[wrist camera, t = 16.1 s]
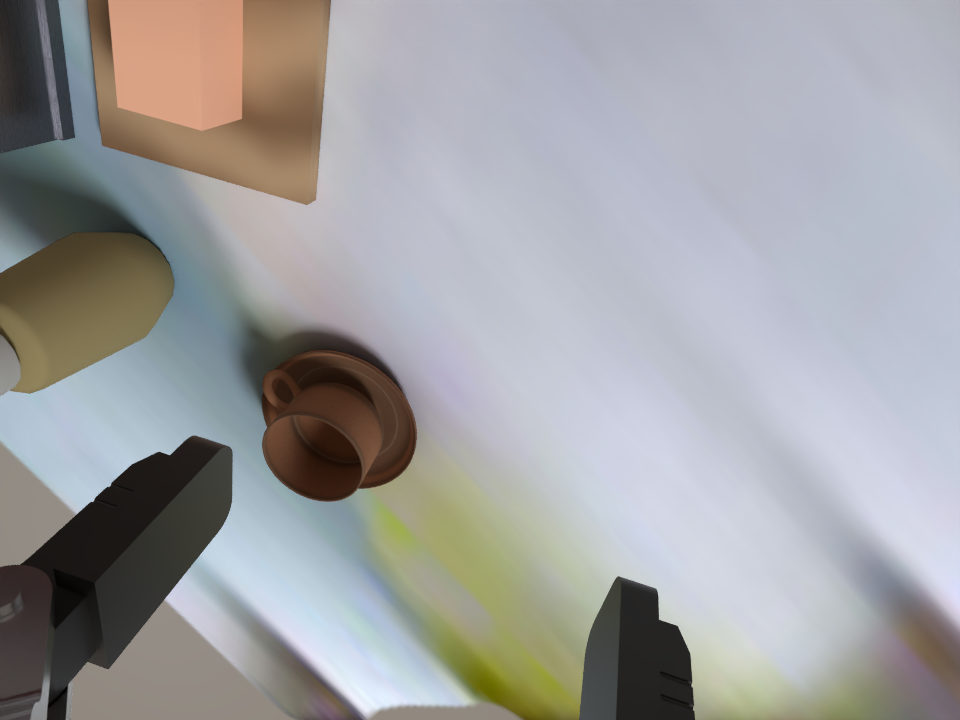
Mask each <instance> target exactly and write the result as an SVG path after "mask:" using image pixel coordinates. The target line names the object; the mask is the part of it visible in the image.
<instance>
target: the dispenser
mask: <svg viewBox="0 0 960 720" xmlns="http://www.w3.org/2000/svg"><path fill="white" fill-rule="evenodd" d="M71 138H75V135H74V127H73V118H72V110H71V102H70V94H69V86H68V78H67V69H66V61H65V53H64V45H63V37H62V29H61V21H60V12H59V4H58V0H0V153H4V152H8V151H12V150H16V149H20V148H24V147H29V146H33V145H37V144H41V143H45V142H49V141H54V140H58V139H60V140H67V139H71Z"/></svg>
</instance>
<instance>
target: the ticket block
mask: <svg viewBox="0 0 960 720" xmlns="http://www.w3.org/2000/svg"><path fill="white" fill-rule="evenodd" d="M108 5H109V16H110V28H111V39H112V50H113V61H114V72H115V84H116V95H117V106H118V108H122V109H126V110H129V111H133V112H136V113H140V114H143V115H147V116H151V117H154V118H158V119H161V120H165V121H168V122H172V123H176V124H179V125H183V126H186V127H190V128H193V129H197V130H201V131H203V130H207V129H210V128H213V127H217V126H220V125H223V124H227V123H230V122H233V121H237V120H240V119H242V58H243V0H108Z"/></svg>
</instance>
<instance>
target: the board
mask: <svg viewBox="0 0 960 720" xmlns="http://www.w3.org/2000/svg"><path fill="white" fill-rule="evenodd" d="M87 1H88V11H89V21H90V31H91V41H92V51H93V61H94V71H95V80H96V90H97V100H98V110H99V120H100V130H101V140H102V146H106V147H109V148H113V149H116V150H119V151H123V152H126V153H130V154H133V155H137V156H140V157H144V158H147V159H150V160H154V161H157V162H161V163H164V164H168V165H171V166H175V167H178V168H181V169H185V170H188V171H192V172H195V173H199V174H202V175H206V176H209V177H212V178H216V179H219V180H223V181H226V182H230V183H233V184H237V185H240V186H243V187H247V188H250V189H254V190H257V191H261V192H264V193H268V194H271V195H274V196H278V197H281V198H285V199H288V200H292V201H295V202H299V203H302V204H305V205H308V204H310V203H311V202H313V201H315V200H316V189H317V176H318V163H319V150H320V137H321V123H322V110H323V97H324V84H325V71H326V57H327V44H328V31H329V18H330V5H331V0H243V58H242V119H240V120H237V121H233V122H230V123H227V124H223V125H220V126H217V127H213V128H210V129H207V130H203V131H201V130H197V129H193V128H190V127H186V126H183V125H179V124H176V123H172V122H168V121H165V120H161V119H158V118H154V117H151V116H147V115H143V114H140V113H136V112H133V111H129V110H126V109H122V108H118V106H117V95H116V84H115V72H114V61H113V50H112V39H111V28H110V16H109V5H108V0H87Z"/></svg>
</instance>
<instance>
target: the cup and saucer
mask: <svg viewBox="0 0 960 720" xmlns="http://www.w3.org/2000/svg"><path fill="white" fill-rule="evenodd" d="M262 409H263V415H264V419H265V423H266V425H267V429H266V431H265V433H264V436H263V442H262V448H263V454H264V457H265V460H266V462H267V464H268V466H269V468H270V470H271V471H272V472H273V474H274V475H275V476H276V477H277V478H278V479H279V480H280V481H281V482H282V483H283V484H284V485H285V486H286V487H288V488H289V489H291V490H292V491H294V492H296V493H297V494H299V495H301V496H304V497H306V498H309V499H313V500H317V501H326V502H330V501H338V500H342V499H345V498H347V497H349V496H350V495H352V494H353V493H354V492H355V491H356V490H357V489H363V488H372V487H377V486H381V485H383V484H386V483H388V482H390V481H392V480H394V479H395V478H397V477H398V476H399V475H400V474H402V473H403V471H404V470H405V469H406V468H407V467H408V465H409V464H410V462H411V460H412V457H413V455H414V452H415V447H416V440H417V429H416V422H415V418H414V415H413V412H412V409H411V407H410V405H409V403H408V401H407V400H406V398H405V396H404V395H403V393H402V392H401V390H400V389H399V388H398V387H397V386H396V384H395V383H394V382H393V381H392V380H391V379H390V378H389V377H387V376H386V375H385V374H384V373H383V372H381V371H380V370H379V369H377V368H376V367H374V366H373V365H371V364H370V363H368V362H366V361H364V360H362V359H359V358H357V357H355V356H352V355H349V354H346V353H341V352H337V351H328V350H315V351H308V352H304V353H300V354H298V355H295V356H293V357H291V358H289V359H287V360H285V361H284V362H282V363H281V364H280V365H279V366H277V367H276V368H275V369H274V370H271V371H269V372H268V373H267V374H266V375H265V376H264V379H263V395H262Z"/></svg>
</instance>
